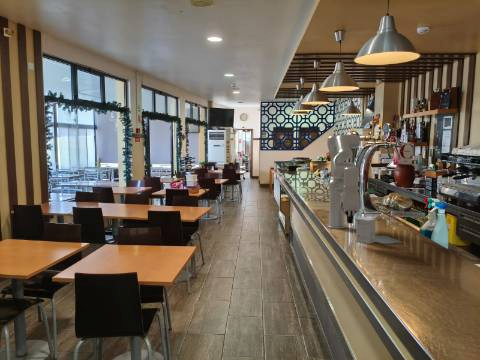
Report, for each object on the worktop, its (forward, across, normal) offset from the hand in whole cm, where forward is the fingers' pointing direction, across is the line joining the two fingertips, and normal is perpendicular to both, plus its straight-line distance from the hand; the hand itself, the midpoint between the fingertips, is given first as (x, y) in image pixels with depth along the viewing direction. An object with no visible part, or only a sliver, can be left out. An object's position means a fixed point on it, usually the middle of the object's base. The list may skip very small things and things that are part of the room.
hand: (349, 222), depth 203 cm
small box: (+11, -10, 0) cm, 15 cm away
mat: (+11, -22, 0) cm, 24 cm away
